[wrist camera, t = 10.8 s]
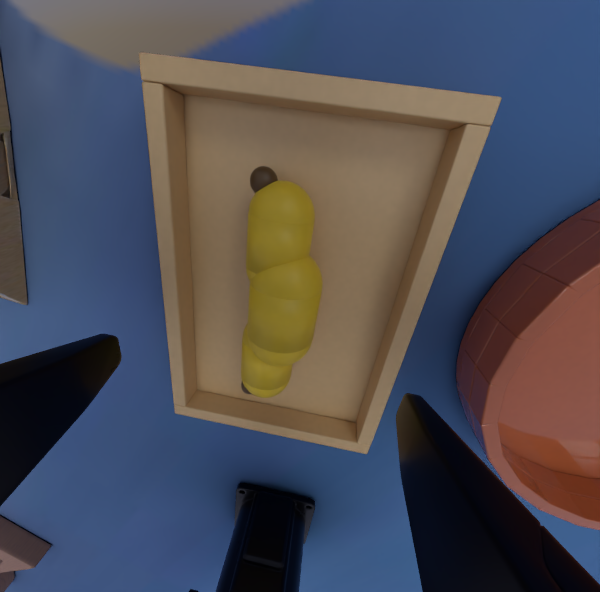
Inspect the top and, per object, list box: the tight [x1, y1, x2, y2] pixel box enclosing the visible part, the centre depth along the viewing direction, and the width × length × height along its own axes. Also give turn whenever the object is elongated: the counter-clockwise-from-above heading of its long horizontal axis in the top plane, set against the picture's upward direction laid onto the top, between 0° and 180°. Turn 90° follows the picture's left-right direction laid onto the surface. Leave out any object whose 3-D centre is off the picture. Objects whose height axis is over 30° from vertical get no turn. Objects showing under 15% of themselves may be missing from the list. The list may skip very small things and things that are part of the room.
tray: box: [139, 52, 501, 454], centre depth 13 cm, size 18×12×2 cm
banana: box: [241, 166, 323, 398], centre depth 12 cm, size 12×4×3 cm, turn 173°
